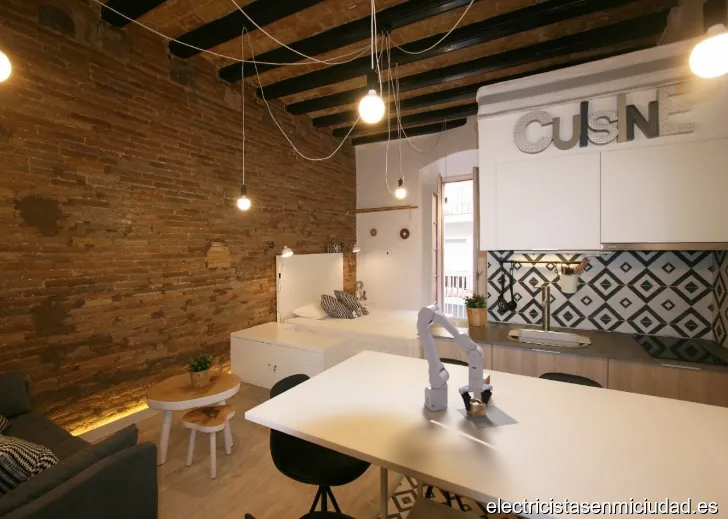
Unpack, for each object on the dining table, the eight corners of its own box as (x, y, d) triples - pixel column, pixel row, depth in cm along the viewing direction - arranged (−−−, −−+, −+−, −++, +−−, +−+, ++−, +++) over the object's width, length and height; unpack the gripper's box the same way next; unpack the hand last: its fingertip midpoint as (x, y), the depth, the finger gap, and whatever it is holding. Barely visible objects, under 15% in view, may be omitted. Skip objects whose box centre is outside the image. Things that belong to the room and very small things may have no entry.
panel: (478, 430, 124) (478, 418, 124) (456, 411, 139) (456, 400, 139) (519, 424, 128) (519, 412, 128) (493, 406, 144) (493, 395, 144)
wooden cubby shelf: (473, 417, 132) (473, 404, 132) (466, 410, 138) (466, 399, 138) (486, 415, 134) (486, 403, 134) (478, 409, 139) (478, 397, 139)
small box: (485, 402, 147) (485, 379, 147) (473, 399, 151) (473, 376, 150) (490, 396, 154) (490, 374, 154) (478, 393, 157) (478, 371, 157)
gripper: (465, 381, 130) (465, 415, 130) (497, 378, 134) (497, 411, 134) (456, 375, 137) (456, 407, 137) (486, 372, 140) (486, 403, 141)
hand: (475, 408), depth 136 cm, fingers open, 7 cm apart
